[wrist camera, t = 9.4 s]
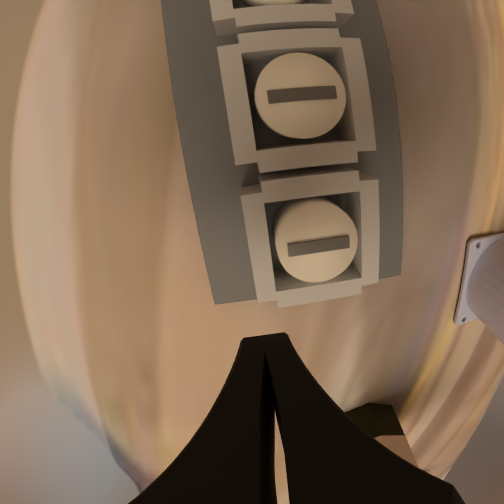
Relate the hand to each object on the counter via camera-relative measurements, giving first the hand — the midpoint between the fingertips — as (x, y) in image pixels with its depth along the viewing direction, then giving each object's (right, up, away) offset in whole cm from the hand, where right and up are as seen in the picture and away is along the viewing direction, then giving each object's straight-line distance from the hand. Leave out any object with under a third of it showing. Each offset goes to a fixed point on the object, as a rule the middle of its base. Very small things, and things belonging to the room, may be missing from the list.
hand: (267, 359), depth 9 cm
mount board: (+2, +12, +7) cm, 13 cm away
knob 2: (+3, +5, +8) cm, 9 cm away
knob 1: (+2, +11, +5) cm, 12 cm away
